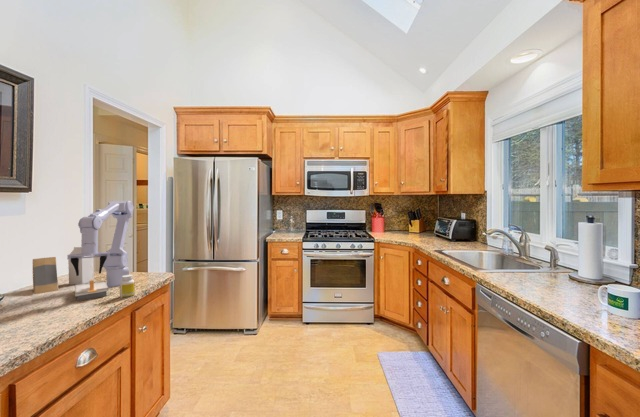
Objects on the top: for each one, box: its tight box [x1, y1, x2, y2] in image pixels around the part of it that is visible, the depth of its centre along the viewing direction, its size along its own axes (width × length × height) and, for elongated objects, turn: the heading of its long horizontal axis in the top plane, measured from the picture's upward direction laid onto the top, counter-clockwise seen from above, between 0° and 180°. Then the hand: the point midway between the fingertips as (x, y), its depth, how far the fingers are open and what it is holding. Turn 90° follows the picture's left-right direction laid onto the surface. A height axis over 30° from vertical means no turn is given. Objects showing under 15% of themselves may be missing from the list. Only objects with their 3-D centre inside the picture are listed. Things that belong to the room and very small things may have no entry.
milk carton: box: [67, 246, 94, 286], centre depth 150 cm, size 7×7×19 cm
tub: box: [76, 291, 108, 302], centre depth 129 cm, size 10×14×4 cm
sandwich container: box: [32, 256, 59, 295], centre depth 138 cm, size 9×15×15 cm, turn 46°
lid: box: [74, 278, 109, 297], centre depth 128 cm, size 11×17×5 cm, turn 41°
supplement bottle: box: [119, 274, 136, 300], centre depth 126 cm, size 5×5×10 cm
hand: (89, 274), depth 125 cm, fingers open, 7 cm apart
